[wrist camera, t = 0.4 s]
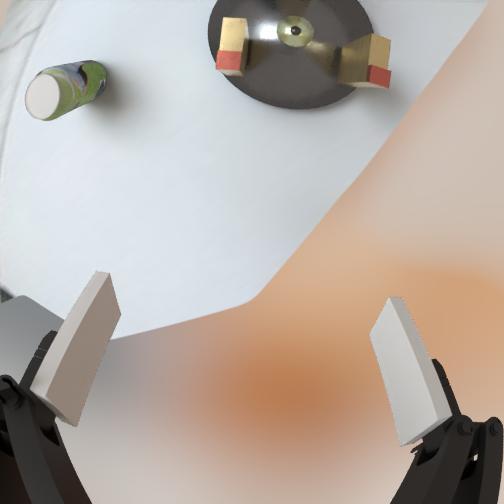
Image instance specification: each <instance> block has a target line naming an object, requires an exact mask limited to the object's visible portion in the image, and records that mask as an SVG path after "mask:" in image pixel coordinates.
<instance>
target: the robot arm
mask: <svg viewBox="0 0 504 504" xmlns="http://www.w3.org/2000/svg"><path fill="white" fill-rule="evenodd" d="M120 316H121V312H120V309H119V306H118V302H117V299H116V295H115V291H114V288H113V284H112V280H111V276H110V273H106V272H99V271H96V272H95V274H94V275H93V276H92V278H91V279H90V281H89V283H88V284H87V286H86V287H85V289H84V290H83V292H82V293H81V295H80V296H79V298H78V300H77V301H76V303H75V305H74V306H73V308H72V309H71V311H70V313H69V314H68V316H67V318H66V319H65V321H64V323H63V325H62V327H61V328H60V330H59V332H56V331H52V330H51V331H50V332H49V333H48V334H47V335H46V336H45V337H44V338H43V339H42V341H41V343H40V345H39V346H38V349H37V350H36V352H35V354H34V357H33V358H32V360H31V361H30V363H29V365H28V368H27V369H26V371H25V373H24V376H23V377H22V380H21V382H20V383H19V385H18V384H17V382H16V381H15V380H14V379H13V378H12V377H11V376H9V375H1V376H0V504H92V502H91V501H90V499H89V497H88V495H87V493H86V492H85V490H84V488H83V486H82V484H81V482H80V480H79V478H78V476H77V474H76V471H75V469H74V467H73V465H72V463H71V460H70V458H69V456H68V453H67V451H66V448H65V446H64V443H63V441H62V438H61V435H60V433H59V430H58V427H57V424H56V423H55V421H54V420H55V417H56V416H57V417H58V418H59V419H60V420H61V421H63V422H65V423H67V424H70V425H72V426H75V427H77V425H78V422H79V419H80V416H81V413H82V410H83V407H84V405H85V402H86V399H87V396H88V393H89V391H90V388H91V385H92V383H93V380H94V377H95V375H96V372H97V370H98V367H99V365H100V362H101V359H102V357H103V355H104V353H105V350H106V347H107V345H108V343H109V341H110V339H111V336H112V334H113V332H114V329H115V327H116V325H117V323H118V321H119V318H120ZM369 336H370V339H371V342H372V345H373V348H374V351H375V354H376V358H377V361H378V364H379V367H380V370H381V374H382V377H383V381H384V384H385V387H386V391H387V395H388V398H389V402H390V406H391V409H392V413H393V417H394V421H395V425H396V429H397V433H398V438H399V442H400V446H405V445H409V444H413V443H415V442H417V441H418V440H420V439H421V438H422V439H423V443H421V444H419V445H418V446H416V447H415V448H413V449H412V451H411V453H413V452H415V451H416V450H418V451H417V452H416V453H415V458H414V460H413V462H412V464H411V466H410V468H409V470H408V472H407V474H406V476H405V478H404V480H403V482H402V483H401V485H400V487H399V489H398V491H397V492H396V494H395V496H394V498H393V499H392V501H391V503H390V504H497V502H498V496H499V490H500V482H501V472H502V462H503V425H502V423H501V421H500V420H499V419H498V418H496V417H491V418H490V419H488V420H487V421H486V422H472V420H471V419H470V418H469V417H468V416H465V415H462V414H461V412H460V410H459V407H458V404H457V401H456V399H455V396H454V393H453V391H452V388H451V386H450V385H449V384H450V383H449V381H448V378H446V377H447V376H446V373H445V371H444V369H443V367H442V365H441V364H440V363H439V362H438V361H437V360H436V359H431V358H430V356H429V354H428V351H427V349H426V347H425V345H424V342H423V341H422V338H421V336H420V334H419V332H418V330H417V327H416V325H415V323H414V321H413V319H412V317H411V315H410V313H409V311H408V309H407V307H406V305H405V303H404V301H403V299H402V297H389V298H388V300H387V302H386V304H385V306H384V308H383V310H382V312H381V314H380V316H379V317H378V319H377V321H376V323H375V325H374V326H373V328H372V330H371V332H370V334H369ZM477 454H478V457H477V460H476V461H474V456H475V455H477Z"/></svg>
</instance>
